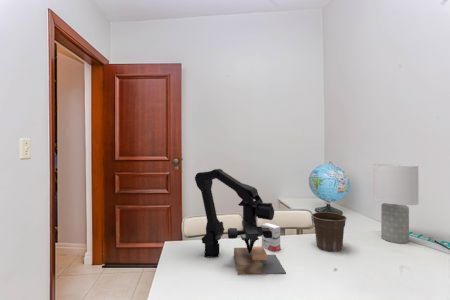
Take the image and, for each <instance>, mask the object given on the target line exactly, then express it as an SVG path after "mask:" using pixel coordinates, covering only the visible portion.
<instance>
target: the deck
mask: <svg viewBox="0 0 450 300" xmlns="http://www.w3.org/2000/svg"><path fill="white" fill-rule="evenodd" d="M233 258H234V264H235V269H236V273H237V276H247V275H248V276H251V275H255V276H256V275H264V274H263V264H262V262H261V260H253V259H252V256H251V253H249V252H248V249H247V247H233Z"/></svg>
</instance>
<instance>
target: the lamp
mask: <svg viewBox="0 0 450 300" xmlns="http://www.w3.org/2000/svg"><path fill="white" fill-rule="evenodd" d="M372 186H373V187H372V199H373V201H375V202H378V203H381V204H380V205H381V207H380V208H381V209H380V211H381V216H380V217H381V218H380V221H381V224H380V225H381V226H380V227H381V231H380V232H381V235H380V236H381V239H382V240H385V241H386V242H389V243H393V244H399V245H400V244H401V245H403V244H404V245H405V244H406V245H407V244H408V243H410V207H409V206H417V205H419V165H413V164H398V163H397V164H394V163H393V164H392V163H391V164H389V163H388V164H386V163H381V164H379V163H378V164H377V163H375V164H373V165H372Z"/></svg>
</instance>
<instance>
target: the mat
mask: <svg viewBox="0 0 450 300" xmlns="http://www.w3.org/2000/svg"><path fill="white" fill-rule="evenodd" d="M261 262H262V264H263V274H262V275H287V271H286V270H285V268H284V266H283V265H282V263H281V261H280V260H279V258H278V256H277V255H276V254H267V260H261Z"/></svg>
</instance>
